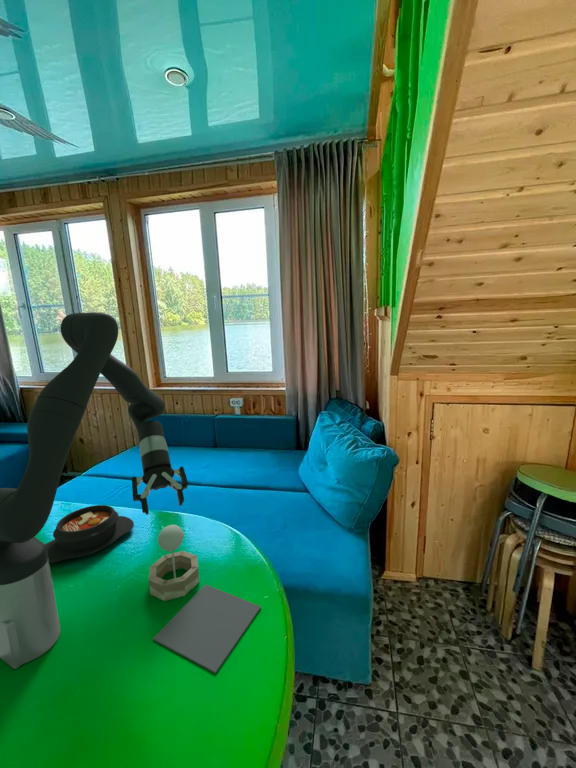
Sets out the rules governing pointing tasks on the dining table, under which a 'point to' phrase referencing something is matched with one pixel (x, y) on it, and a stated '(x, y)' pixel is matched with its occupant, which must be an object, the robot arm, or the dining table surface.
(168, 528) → the lollipop
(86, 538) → the casserole
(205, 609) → the mat
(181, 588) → the octagonal ring
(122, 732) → the dining table surface
